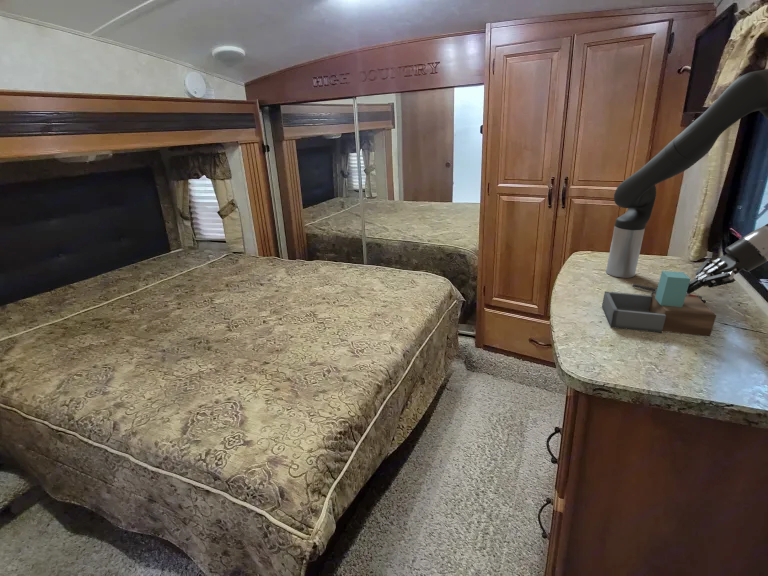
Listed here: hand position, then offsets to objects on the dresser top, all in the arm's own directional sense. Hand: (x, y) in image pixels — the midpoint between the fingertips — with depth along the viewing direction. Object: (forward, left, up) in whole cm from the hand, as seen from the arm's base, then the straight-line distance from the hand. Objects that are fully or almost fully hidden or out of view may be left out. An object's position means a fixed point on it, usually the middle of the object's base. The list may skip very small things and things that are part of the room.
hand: (685, 290), depth 108 cm
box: (0, -11, -10) cm, 15 cm away
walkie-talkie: (-19, +2, -10) cm, 22 cm away
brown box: (0, 0, -10) cm, 10 cm away
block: (0, -3, -4) cm, 5 cm away
